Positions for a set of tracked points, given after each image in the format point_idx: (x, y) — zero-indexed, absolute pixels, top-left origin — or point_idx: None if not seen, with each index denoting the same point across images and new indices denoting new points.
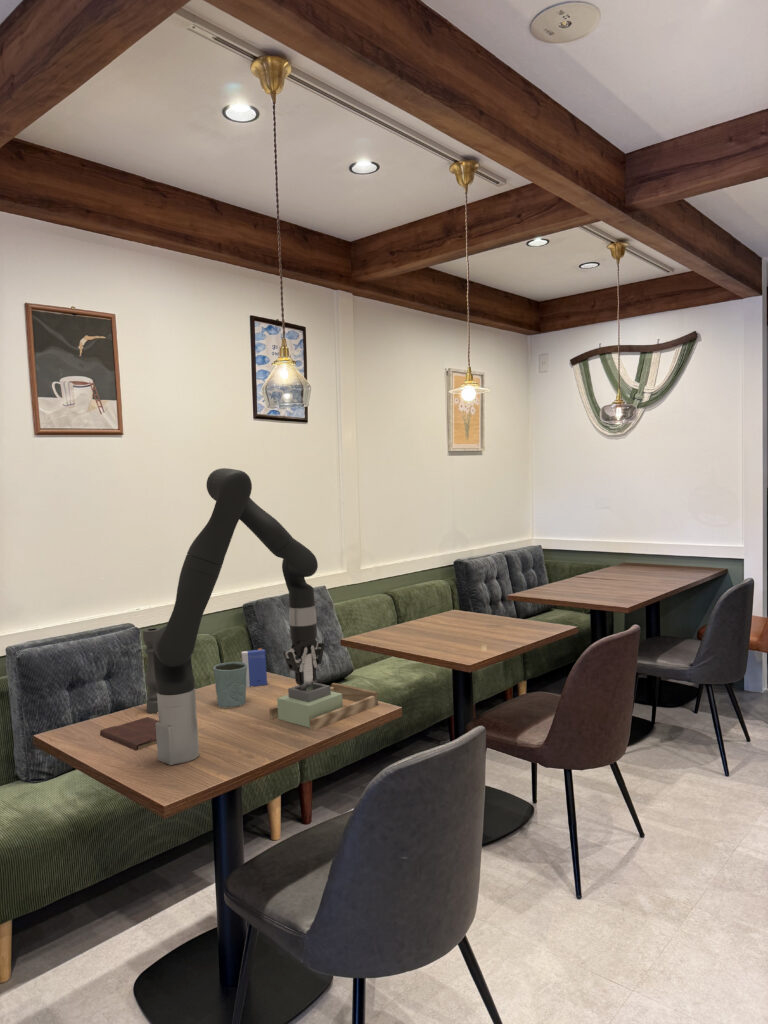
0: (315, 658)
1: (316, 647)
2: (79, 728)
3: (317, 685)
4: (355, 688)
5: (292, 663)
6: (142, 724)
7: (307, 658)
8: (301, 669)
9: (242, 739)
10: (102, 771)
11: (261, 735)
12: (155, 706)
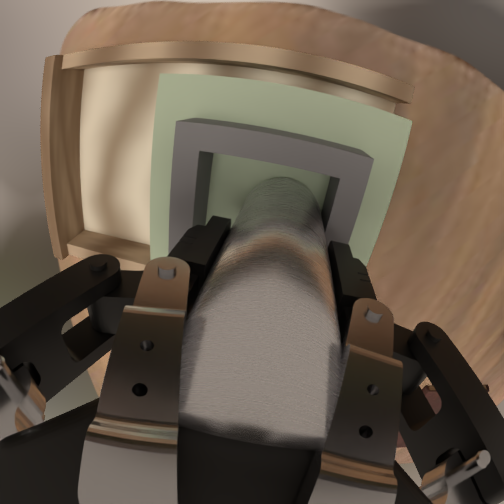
0: (142, 310)
1: (26, 407)
2: (400, 459)
3: (194, 209)
4: (47, 153)
5: (484, 388)
6: (400, 436)
7: (310, 375)
8: (376, 311)
9: (461, 278)
10: None
11: (434, 251)
12: None
